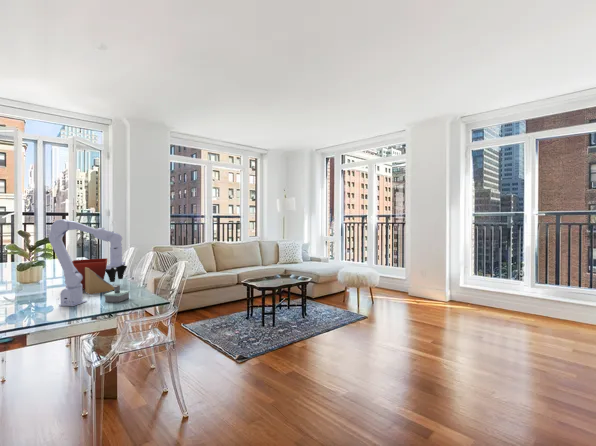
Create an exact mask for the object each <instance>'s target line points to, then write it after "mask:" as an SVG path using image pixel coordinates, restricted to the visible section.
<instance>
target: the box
mask: <svg viewBox="0 0 596 446" xmlns="http://www.w3.org/2000/svg"><path fill="white" fill-rule="evenodd" d="M129 299H130V292H129V293H126V294H124V295H121V296H104V301H105V302H104V303H118V304H119V303H121V302H125V301H127V300H129Z"/></svg>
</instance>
